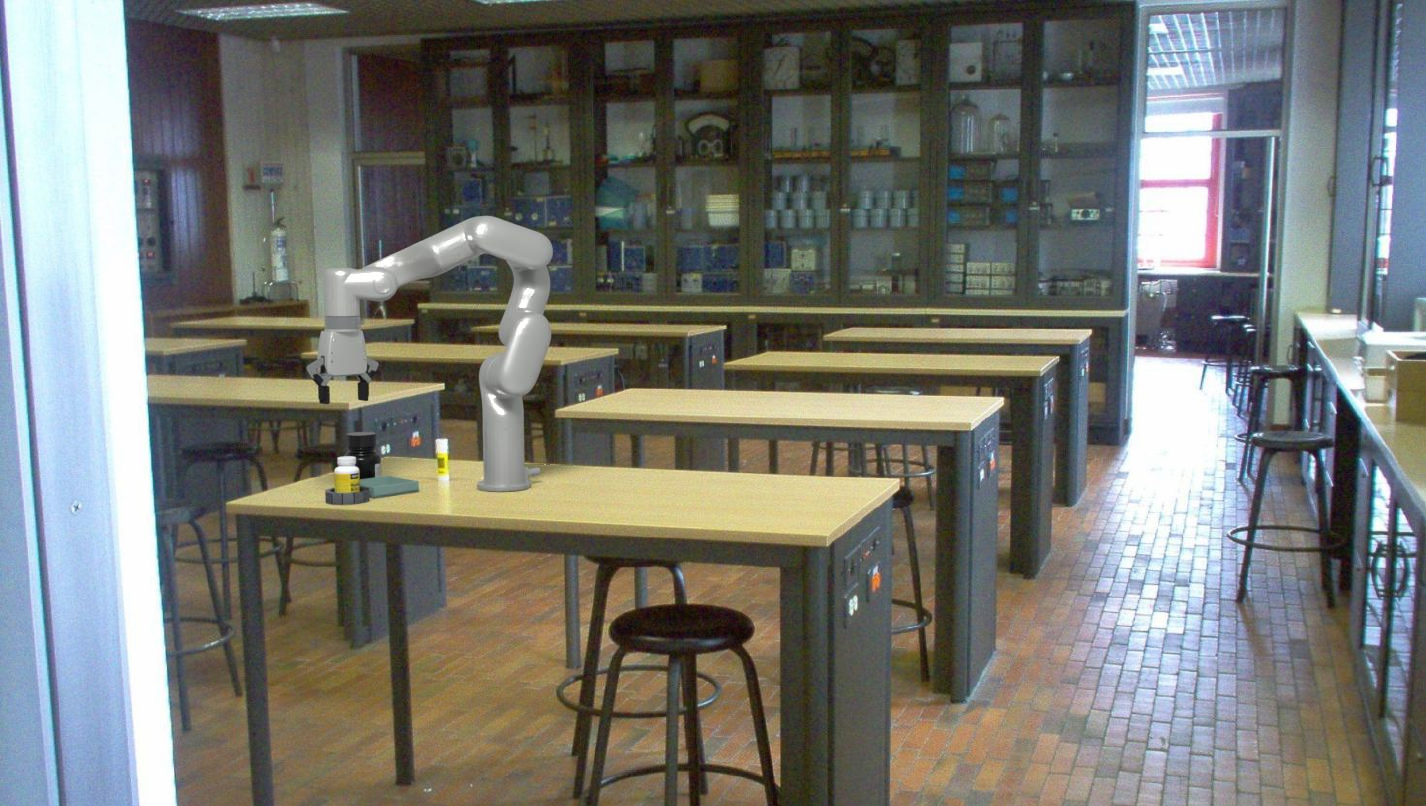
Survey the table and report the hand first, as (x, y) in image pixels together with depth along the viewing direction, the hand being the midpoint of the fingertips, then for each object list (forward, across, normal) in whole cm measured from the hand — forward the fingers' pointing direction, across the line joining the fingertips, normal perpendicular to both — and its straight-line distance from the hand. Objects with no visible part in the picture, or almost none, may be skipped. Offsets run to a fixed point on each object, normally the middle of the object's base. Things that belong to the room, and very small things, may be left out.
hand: (344, 402), depth 291 cm
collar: (+22, 0, 0) cm, 22 cm away
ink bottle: (+22, -16, -18) cm, 33 cm away
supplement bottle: (+22, 0, 0) cm, 22 cm away
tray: (+22, -12, -4) cm, 25 cm away
